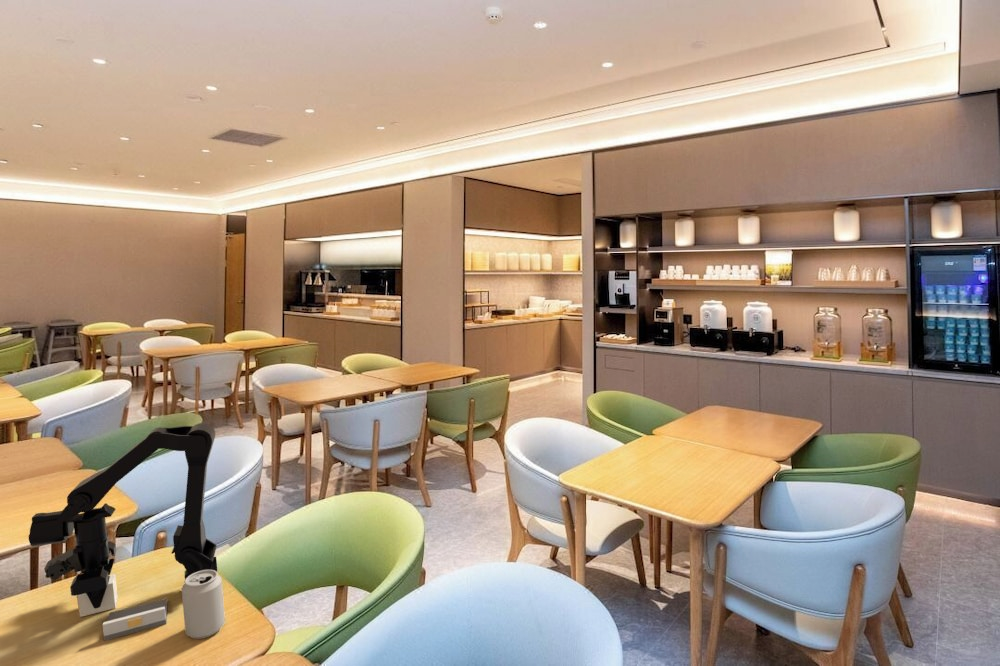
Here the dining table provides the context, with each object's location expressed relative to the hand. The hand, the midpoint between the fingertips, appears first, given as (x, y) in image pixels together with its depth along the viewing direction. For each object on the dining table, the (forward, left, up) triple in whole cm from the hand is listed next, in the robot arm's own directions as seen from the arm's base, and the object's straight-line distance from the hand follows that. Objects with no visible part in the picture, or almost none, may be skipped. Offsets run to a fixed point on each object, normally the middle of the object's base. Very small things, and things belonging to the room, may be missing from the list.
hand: (98, 602), depth 128 cm
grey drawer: (-8, +10, -1) cm, 13 cm away
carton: (0, 0, -1) cm, 1 cm away
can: (-21, +21, -2) cm, 30 cm away
